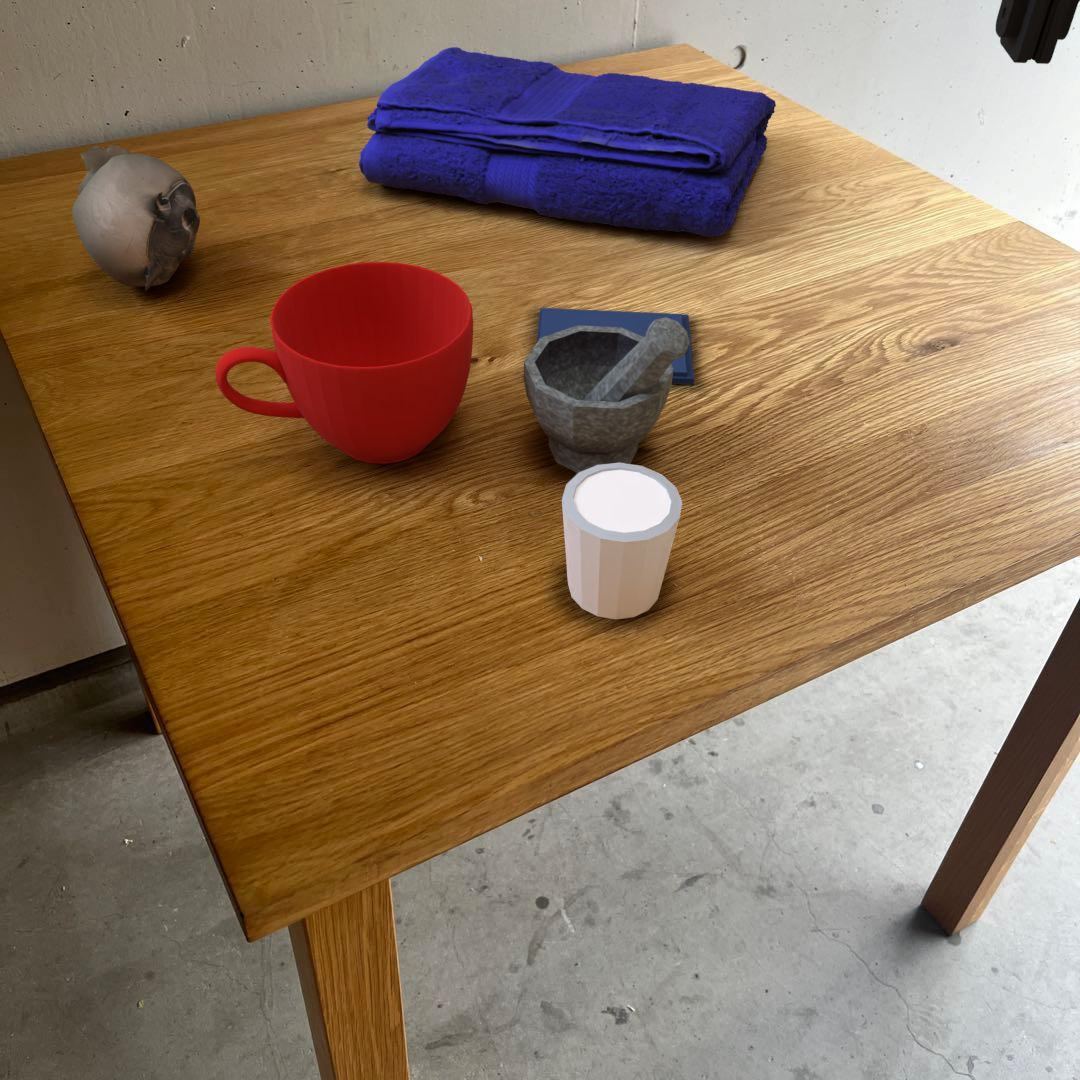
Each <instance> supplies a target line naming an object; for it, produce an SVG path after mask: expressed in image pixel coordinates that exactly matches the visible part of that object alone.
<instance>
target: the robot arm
mask: <svg viewBox="0 0 1080 1080" xmlns="http://www.w3.org/2000/svg"><path fill="white" fill-rule="evenodd" d="M1079 2H1080V0H1001V2H1000V6H999V9H998V13H997V17H996V19H995V33H996V35H997V37H998V38H999V43H1000V45H1001V47H1002V48H1003V49H1004V51H1005V52H1006V53H1007V55H1008V56H1009V58H1010V59H1011V61H1012V62H1013V63H1015V64H1027V62H1028V61H1031V60H1032V61H1034V62H1035V63H1036V64H1040V65H1042V64H1043V65H1048V64H1049V63H1051V61H1052V60H1053V59H1052V58H1053V57H1054V56H1053V55H1054V53H1055V49H1056V47H1057V44H1058V41H1063V40H1065V39H1066V38H1067V36H1068V35H1069V32H1070V29H1071V26H1072V23H1073V21H1074V18H1075V15H1076V11H1077V8H1078V6H1079Z"/></svg>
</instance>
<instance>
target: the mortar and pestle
mask: <svg viewBox="0 0 1080 1080" xmlns="http://www.w3.org/2000/svg"><path fill="white" fill-rule="evenodd" d="M536 342H537V341H536ZM689 345H690V341H689V338H688V334H687V331H686V330H685V329H684V328H683V327H682V326H681V325H680V324H679V322H677V321H675V320H672V319H670V318H667V317H665V318H660V319H656V320H654V321H653V322H652V323H651V324H650V326H649V328H648V330H647V332H646V336H645V337H642V336H640V335H638V334H635V333H633V332H631V331H629V330H626V329H624V328H622V327H601V326H579V325H577V326H574V327H571V328H568V329H565V330H563V331H560V332H557V333H554V334H551V335H548V336H545V337H542V338H540V339H539V341H538V342H537V343H536V344H535V345H534V346H533V348H532V350H531V351H530V352H529V354H528V355H527V356H526V358H525V359H524V361H523V382H524V388H525V393H526V397H527V399H528V402H529V405H530V407H531V409H532V411H533V414H534V417H535V419H536V421H537V423H538V424H539V426H540V428H541V429H542V431H543V433H544V434H545V436H547V437H548V448H549V449H550V452H551V454H552V457H553V459H554V461H555V463H556V464H558V465H561V466H563V467H564V468H566V469H568V470H570V471H572V472H574V473H576V474H578V473H579V472H581V471H584V470H586V469H589V468H591V467H594V466H596V465H602V464H611V463H625V464H632V461H633V459H634V458H635V455H636V454H637V452H638V449H639V443H640V442H643V441H644V440H645V439H646V437H647V436H648V435H649V434H650V432H652V430H653V429H654V428H655V426H656V424H657V422H658V419H659V418H660V416H661V413H662V412H663V410H664V408H665V406H666V404H667V401H668V397H669V396H670V395H669V394H670V391H671V388H672V385H673V384H672V378H673V370H674V368H673V367H672V365H671V363H672V362H673V360H674V359H678V358H682V357H683V355H684V354H685V353H686V351H687V349H688V347H689Z"/></svg>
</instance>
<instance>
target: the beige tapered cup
mask: <svg viewBox="0 0 1080 1080" xmlns="http://www.w3.org/2000/svg"><path fill="white" fill-rule="evenodd" d="M682 507H683V500H682V498H681V496H680V493H679V490H678V488H677V487H676V485H674V483H672V482H671V481H670V480H669V479H668V478H666V477H665V476H664V475H663V473H662V474H661V473H659V472H657V471H655V470H653V469H650V468H648V467H647V466H644V465H638V464H632V463H630V464H625V463H611V464H602V465H596V466H594V467H591V468H589V469H586V470H584V471H581V472H579V473H576V474H575V475H574V476H573V477H572V478H571V479H570V480H569V481H568V482H567V483H566V484H565V487H564V491H563V494H562V498H561V509H562V522H563V534H564V536H563V537H564V549H565V563H566V576H567V585H568V589H569V593H570V596H571V599H573V601H574V602H575V603H576V604H577V605H578V606H579V607H580V608H581V609H582V610H584V611H586V612H588V613H590V614H592V615H594V616H596V617H599V618H604V619H610V620H621V619H622V620H623V619H629V618H630V619H631V618H635V617H637V616H639V615H642V614H643V613H646V612H648V611H649V610H650V609H651V608H652V607H653V606H654V604H655V603H657V601H658V599H659V596H660V593H661V588H662V584H663V581H664V578H665V575H666V571H667V566H668V564H669V563H668V562H669V560H670V559H669V558H670V555H671V552H672V547H673V544H674V540H675V536H676V533H677V529H678V525H679V521H680V518H681V512H682V509H683V508H682Z"/></svg>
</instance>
